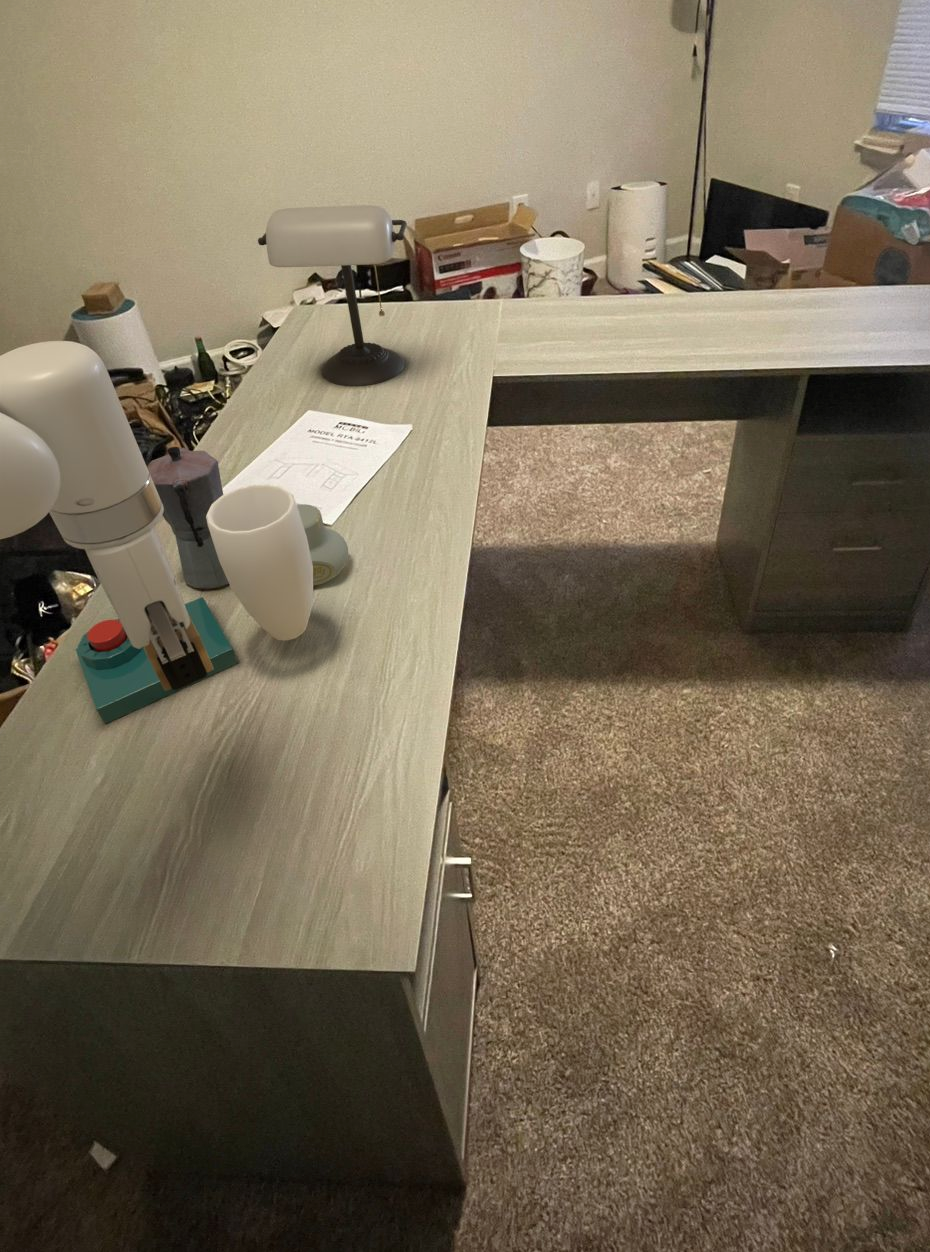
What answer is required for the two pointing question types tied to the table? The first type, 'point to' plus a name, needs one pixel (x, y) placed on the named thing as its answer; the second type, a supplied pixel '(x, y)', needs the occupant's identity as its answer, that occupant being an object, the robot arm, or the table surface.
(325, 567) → the air freshener
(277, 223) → the lamp
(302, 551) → the cup
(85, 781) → the table surface
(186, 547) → the moka pot
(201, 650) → the block
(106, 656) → the button base
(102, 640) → the red button
